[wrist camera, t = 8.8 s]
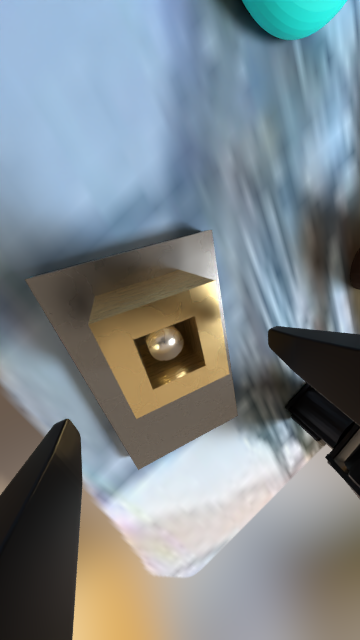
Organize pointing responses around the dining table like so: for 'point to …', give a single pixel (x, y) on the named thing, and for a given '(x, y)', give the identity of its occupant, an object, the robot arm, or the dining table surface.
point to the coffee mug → (355, 271)
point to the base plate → (72, 328)
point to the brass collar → (152, 315)
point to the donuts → (293, 16)
